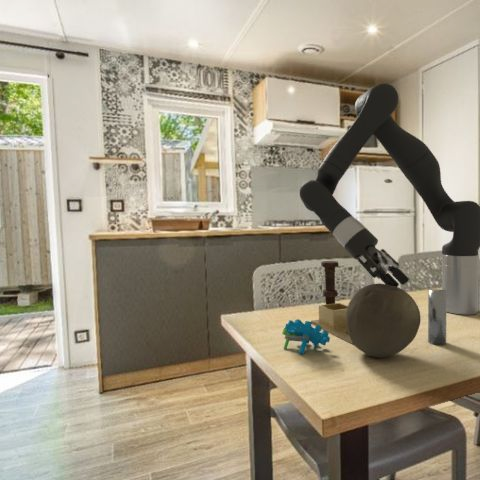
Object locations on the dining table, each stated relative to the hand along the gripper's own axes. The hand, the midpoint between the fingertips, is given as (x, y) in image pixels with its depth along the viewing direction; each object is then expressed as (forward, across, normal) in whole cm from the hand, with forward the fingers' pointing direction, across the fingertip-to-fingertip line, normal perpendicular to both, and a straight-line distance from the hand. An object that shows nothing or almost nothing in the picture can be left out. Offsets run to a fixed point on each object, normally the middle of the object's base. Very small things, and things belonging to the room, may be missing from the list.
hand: (401, 285), depth 84 cm
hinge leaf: (0, -2, +18) cm, 18 cm away
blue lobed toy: (-1, -21, +19) cm, 29 cm away
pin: (+14, 0, +4) cm, 15 cm away
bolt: (-10, +18, +28) cm, 35 cm away
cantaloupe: (+9, -15, +9) cm, 20 cm away
